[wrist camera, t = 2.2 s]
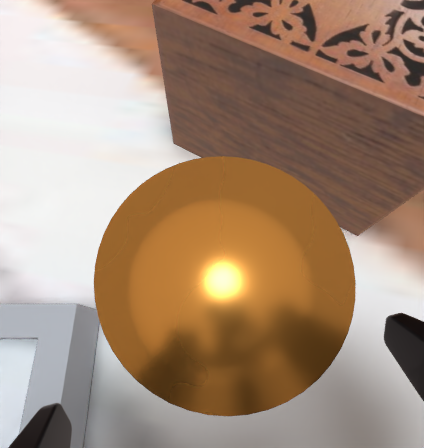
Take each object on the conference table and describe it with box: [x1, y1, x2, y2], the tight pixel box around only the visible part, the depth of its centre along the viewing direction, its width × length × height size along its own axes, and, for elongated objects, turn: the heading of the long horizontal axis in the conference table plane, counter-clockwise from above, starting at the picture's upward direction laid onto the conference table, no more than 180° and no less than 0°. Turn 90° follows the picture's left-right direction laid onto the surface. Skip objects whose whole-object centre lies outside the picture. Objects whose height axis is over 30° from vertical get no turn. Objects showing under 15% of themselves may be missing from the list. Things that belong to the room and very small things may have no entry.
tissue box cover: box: [152, 0, 424, 236], centre depth 21 cm, size 26×14×10 cm, turn 150°
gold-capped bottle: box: [94, 156, 355, 416], centre depth 11 cm, size 5×5×13 cm
